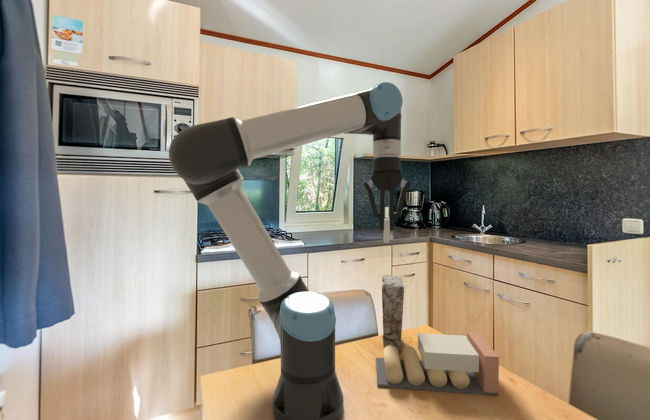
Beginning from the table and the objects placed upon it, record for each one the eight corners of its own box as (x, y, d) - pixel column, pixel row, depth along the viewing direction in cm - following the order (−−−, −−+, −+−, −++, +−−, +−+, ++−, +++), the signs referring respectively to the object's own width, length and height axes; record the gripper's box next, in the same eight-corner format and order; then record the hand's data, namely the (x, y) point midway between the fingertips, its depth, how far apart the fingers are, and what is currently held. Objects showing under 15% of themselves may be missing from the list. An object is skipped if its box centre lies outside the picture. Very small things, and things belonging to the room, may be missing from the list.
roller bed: (377, 386, 73) (377, 367, 73) (375, 359, 85) (375, 343, 85) (498, 395, 69) (498, 375, 69) (478, 366, 81) (479, 349, 81)
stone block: (406, 355, 87) (407, 285, 86) (382, 354, 88) (382, 285, 87) (399, 334, 100) (399, 273, 99) (377, 333, 101) (377, 273, 100)
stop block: (484, 394, 70) (484, 356, 69) (466, 365, 82) (467, 332, 81) (498, 395, 69) (499, 356, 69) (478, 366, 81) (479, 333, 81)
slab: (424, 368, 72) (425, 352, 72) (417, 347, 82) (417, 333, 82) (478, 372, 71) (479, 355, 70) (464, 350, 80) (465, 335, 80)
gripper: (362, 156, 82) (362, 243, 83) (413, 155, 80) (412, 244, 81) (363, 159, 89) (363, 239, 90) (409, 158, 87) (408, 240, 89)
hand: (386, 242), depth 86 cm, fingers closed
